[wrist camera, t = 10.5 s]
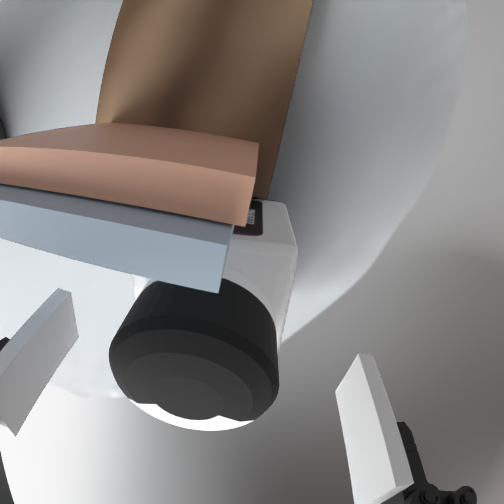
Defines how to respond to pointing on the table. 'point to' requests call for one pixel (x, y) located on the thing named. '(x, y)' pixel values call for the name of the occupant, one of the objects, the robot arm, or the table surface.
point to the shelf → (207, 69)
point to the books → (129, 198)
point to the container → (212, 332)
